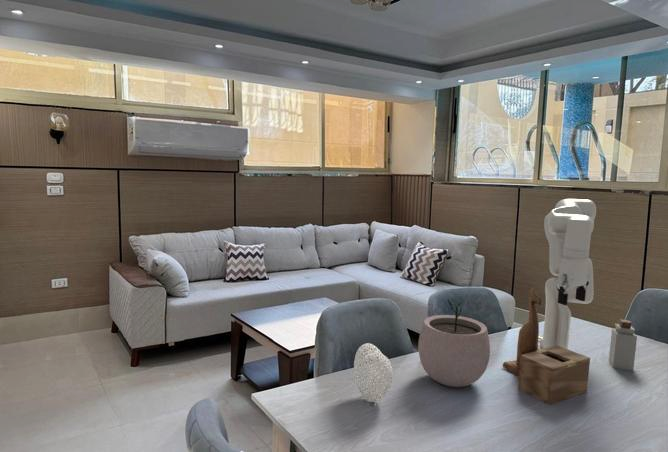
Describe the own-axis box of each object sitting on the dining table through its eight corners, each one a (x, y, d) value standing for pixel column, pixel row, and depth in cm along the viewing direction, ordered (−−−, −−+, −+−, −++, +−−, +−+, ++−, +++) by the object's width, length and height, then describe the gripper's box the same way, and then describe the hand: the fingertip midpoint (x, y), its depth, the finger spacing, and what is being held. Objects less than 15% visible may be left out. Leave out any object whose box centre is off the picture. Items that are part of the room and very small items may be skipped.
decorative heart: (398, 414, 134) (401, 359, 132) (365, 418, 131) (367, 362, 129) (376, 386, 151) (378, 337, 149) (346, 389, 148) (348, 340, 146)
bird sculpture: (525, 382, 159) (536, 294, 155) (501, 367, 170) (510, 285, 165) (548, 377, 164) (559, 292, 159) (523, 363, 174) (532, 283, 170)
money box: (517, 388, 153) (520, 355, 151) (554, 377, 163) (557, 345, 161) (549, 405, 142) (552, 368, 141) (586, 391, 152) (590, 357, 151)
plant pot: (499, 382, 157) (505, 299, 154) (467, 406, 140) (473, 313, 136) (438, 361, 173) (443, 285, 170) (403, 381, 156) (407, 297, 152)
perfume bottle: (628, 363, 177) (633, 319, 175) (633, 370, 171) (638, 324, 169) (608, 360, 179) (613, 317, 177) (613, 367, 173) (617, 322, 171)
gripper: (581, 249, 160) (576, 295, 163) (549, 253, 152) (545, 302, 155) (602, 253, 154) (596, 301, 156) (570, 258, 146) (565, 309, 148)
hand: (571, 302), depth 156 cm, fingers open, 9 cm apart
